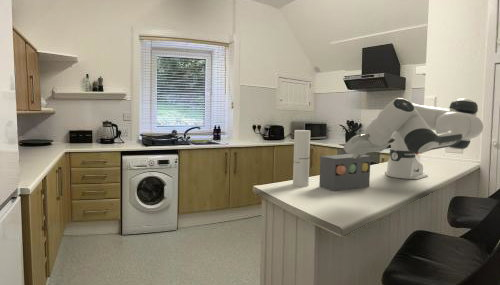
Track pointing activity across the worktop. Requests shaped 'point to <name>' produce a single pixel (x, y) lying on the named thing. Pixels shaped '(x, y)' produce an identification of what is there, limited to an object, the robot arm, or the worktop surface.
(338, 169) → the terracotta button
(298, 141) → the cylindrical container
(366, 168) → the ochre button
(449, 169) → the worktop surface
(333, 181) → the control panel
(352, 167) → the sage green button
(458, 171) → the worktop surface
